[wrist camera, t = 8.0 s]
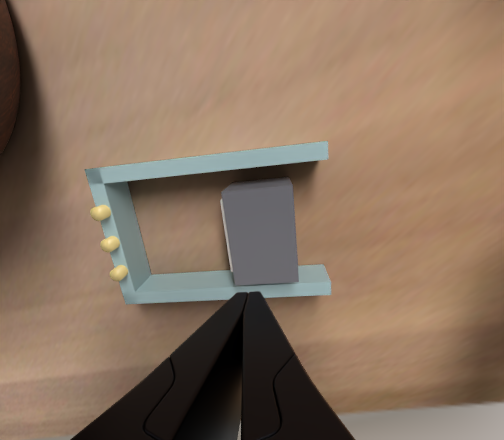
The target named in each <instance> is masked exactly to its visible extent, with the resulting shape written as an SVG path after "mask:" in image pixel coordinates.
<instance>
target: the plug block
mask: <svg viewBox="0 0 504 440" xmlns="http://www.w3.org/2000/svg"><path fill="white" fill-rule="evenodd" d="M221 194H222V199H221V200H220V203H221V209H222V216H223V222H224V229H225V235H226V242H227V248H228V255H229V262H230V268H231V272H233V274H234V281H235V285H253V284H272V283H290V282H299V274H298V259H297V243H296V228H295V212H294V197H293V185H292V183H291V181H290V179H289V177H280V178H271V179H261V180H251V181H241V182H232V183H231V184H230V185H229V186H228V187H227V188H225V189H224V190H223V191H222V192H221Z"/></svg>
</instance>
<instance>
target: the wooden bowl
mask: <svg viewBox="0 0 504 440" xmlns="http://www.w3.org/2000/svg"><path fill="white" fill-rule="evenodd" d="M19 97H20V65H19V57H18V49H17V44H16V39H15V34H14V30H13V25H12V22H11V18H10V15H9V11H8V8H7V5H6V2H5V0H0V155H1V153H2V152H3V150H4V148H5V147H6V145H7V143H8V141H9V138H10V136H11V133H12V131H13V128H14V125H15V121H16V116H17V112H18V106H19Z"/></svg>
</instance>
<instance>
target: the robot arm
mask: <svg viewBox="0 0 504 440" xmlns="http://www.w3.org/2000/svg"><path fill="white" fill-rule="evenodd" d="M240 419H241V440H355V439H354V437H353V436H352V435H351V434H350V432H349V431H348V430H347V428H346V427H345V425H344V424H343V423H342V422H341V420H340V419H339V418H338V416H337V415H336V414H335V412H334V411H333V410H332V408H331V407H330V406H329V404H328V403H327V402H326V400H325V399H324V398H323V396H322V395H321V393H320V392H319V390H318V389H317V388H316V386H315V385H314V383H313V382H312V380H311V379H310V377H309V376H308V374H307V372H306V371H305V369H304V367H303V366H302V364H301V362H300V360H299V359H298V357H297V356H296V354H295V352H294V350H293V348H292V347H291V345H290V343H289V341H288V339H287V338H286V336H285V334H284V332H283V331H282V329H281V327H280V325H279V323H278V322H277V320H276V318H275V316H274V314H273V313H272V311H271V309H270V307H269V306H268V304H267V302H266V300H265V298H264V297H263V295H262V293H261V292H260V291H254V292H249V293H248V292H237V293H235V294H234V295H233V296H232V297H231V298H230V299H229V300H228V301H227V302H226V303H225V304H224V305H223V306H222V307H221V308H220V309H219V310H217V311H216V312H215V313H214V314H213V315H212V316H211V317H210V318H209V319H208V320H207V321H206V322H205V323H204V324H203V325H202V326H201V327H199V328H198V329H197V330H196V331H195V332H194V333H193V334H192V335H191V336H190V337H189V338H188V339H187V340H186V341H185V342H184V343H182V344H181V345H180V346H179V347H178V348H177V349H176V350H175V351H174V352H173V353H172V354H171V355H170V358H169V357H168V358H166V359H165V360H164V361H163V362H162V363H161V364H160V365H159V366H158V367H157V368H156V369H155V370H154V371H152V372H151V373H150V374H149V375H148V376H147V377H146V378H145V379H144V380H143V381H141V382H140V383H139V384H138V385H137V386H135V387H134V388H133V389H132V390H131V391H129V392H128V393H127V394H126V395H125V396H124V397H122V398H121V399H120V400H119V401H117V402H116V403H115V404H114V405H112V406H111V407H110V408H109V409H108V410H106V411H105V412H104V413H103V414H101V415H100V416H99V417H98V418H96V419H95V420H94V421H93V422H91V423H90V424H89V425H88V426H87V427H85V428H84V429H83V430H82V431H80V432H79V433H78V434H77V435H75V436H74V437H73V438H72V439H71V440H237V437H238V431H239V425H240Z"/></svg>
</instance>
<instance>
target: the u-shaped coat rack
mask: <svg viewBox="0 0 504 440" xmlns="http://www.w3.org/2000/svg"><path fill="white" fill-rule="evenodd" d="M326 159H328V141H323V142H313V143H305V144H296V145H288V146H279V147H270V148H262V149H253V150H245V151H236V152H228V153H219V154H211V155H202V156H193V157H185V158H176V159H168V160H159V161H151V162H142V163H134V164H125V165H117V166H108V167H100V168H92V169H85V172H86V176H87V179H88V182H89V186H90V189H91V192H92V195H93V199H94V202H95V205H96V207H94V208H92V209H91V212H90V214H91V217H92V218H93V219H94V220H96V221H101V225H102V228H103V231H104V235H105V238H106V239H105V240H103V241H102V242H101V244H100V245H101V248H102V250H103V251H105V252H110V254H111V257H112V261H113V264H114V267H115V268H114V269H113V270H112V271H111V272H110V277H111V279H112V280H114V281H119V283H120V287H121V290H122V293H123V297H124V300H125V303H126V304H143V303H164V302H186V301H207V300H228V299H230V298H231V297H232V296H233V295H234V294H235V293H237V292H248V293H249V292H254V291H260V292H261V293H262V295H263V297H264V298H271V297H293V296H314V295H331V281H330V279H329V276H328V274H327V271H326V269H325V267H324V264H319V265H303V266H298V274H299V282H290V283H272V284H253V285H235V281H234V274H233V272H231V270H220V271H204V272H187V273H171V274H155V275H151V271H150V267H149V264H148V260H147V256H146V252H145V248H144V244H143V241H142V237H141V233H140V229H139V225H138V221H137V217H136V214H135V210H134V206H133V202H132V198H131V194H130V191H129V187H128V183H127V181H133V180H142V179H151V178H160V177H169V176H179V175H188V174H197V173H206V172H216V171H225V170H234V169H243V168H252V167H262V166H271V165H280V164H289V163H299V162H308V161H317V160H326Z"/></svg>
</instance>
